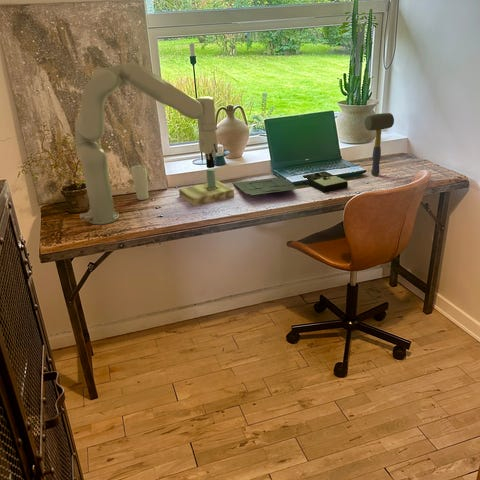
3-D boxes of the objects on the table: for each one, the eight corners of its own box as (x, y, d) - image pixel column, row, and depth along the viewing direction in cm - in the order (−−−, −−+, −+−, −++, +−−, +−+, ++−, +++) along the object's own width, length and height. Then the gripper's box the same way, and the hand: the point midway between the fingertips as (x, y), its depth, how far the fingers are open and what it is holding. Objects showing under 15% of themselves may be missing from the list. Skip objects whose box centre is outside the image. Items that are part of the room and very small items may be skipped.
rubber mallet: (368, 179, 230) (372, 116, 217) (359, 175, 237) (363, 113, 224) (390, 175, 234) (396, 113, 221) (381, 171, 240) (386, 111, 227)
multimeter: (324, 177, 237) (324, 168, 234) (348, 188, 221) (348, 178, 219) (301, 182, 232) (301, 172, 230) (324, 194, 216) (324, 183, 214)
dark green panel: (247, 201, 208) (247, 193, 206) (232, 188, 235) (232, 181, 234) (300, 194, 212) (300, 186, 211) (279, 182, 240) (279, 175, 239)
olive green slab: (194, 206, 208) (193, 199, 207) (179, 196, 221) (178, 189, 219) (234, 196, 217) (233, 189, 215) (217, 187, 230) (217, 180, 228)
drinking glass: (136, 201, 217) (131, 170, 211) (135, 197, 223) (130, 166, 216) (151, 199, 218) (146, 168, 212) (149, 195, 224) (145, 164, 218)
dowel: (210, 197, 218) (208, 171, 213) (206, 194, 221) (204, 170, 216) (217, 195, 220) (215, 170, 214) (214, 193, 223) (212, 168, 217)
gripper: (192, 125, 211) (196, 165, 219) (207, 130, 199) (210, 173, 207) (207, 122, 214) (210, 162, 222) (223, 128, 202) (225, 169, 210)
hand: (210, 167), depth 215 cm, fingers closed
